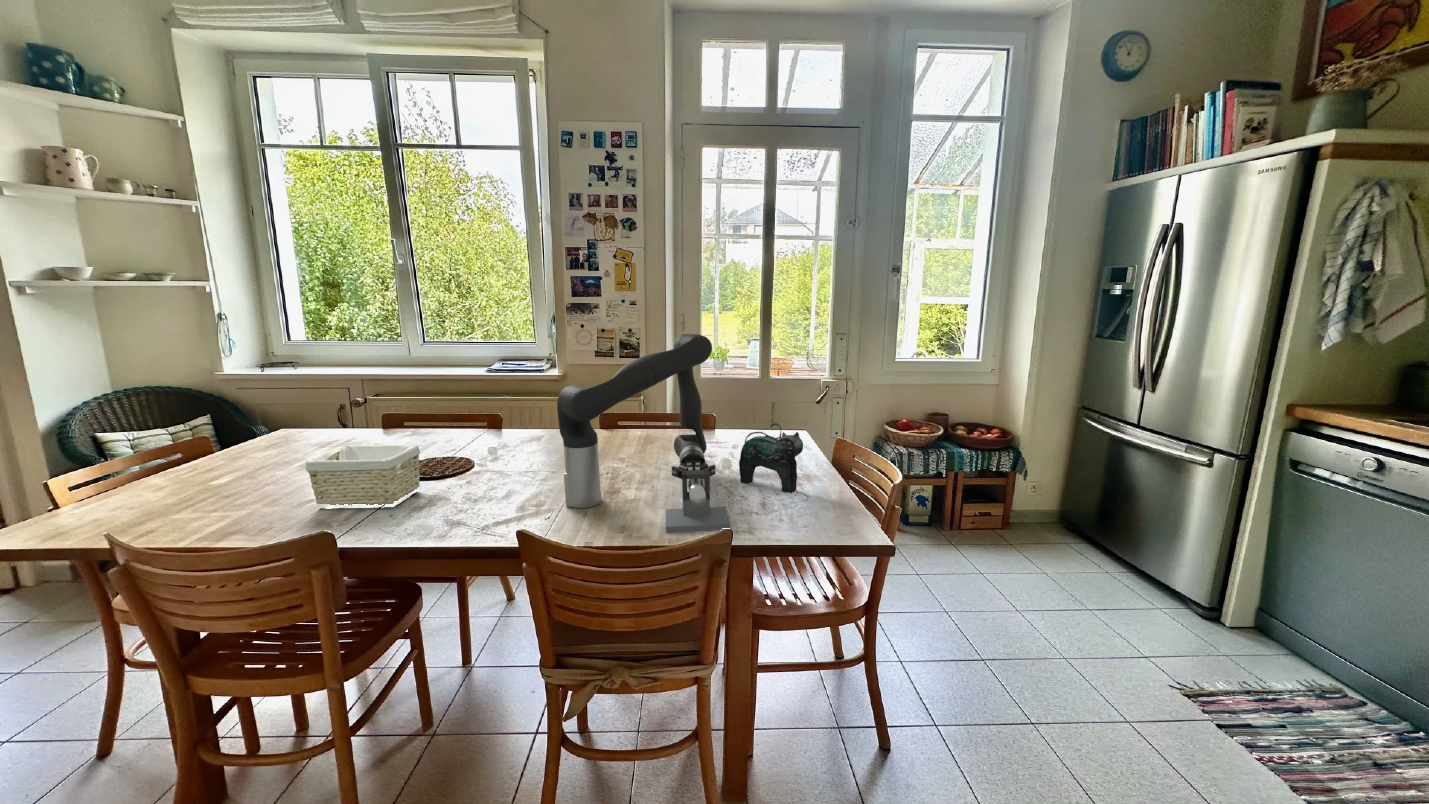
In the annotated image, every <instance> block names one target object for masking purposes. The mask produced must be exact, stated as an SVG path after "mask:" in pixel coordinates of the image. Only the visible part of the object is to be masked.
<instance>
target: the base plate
mask: <svg viewBox="0 0 1429 804" xmlns="http://www.w3.org/2000/svg"><path fill="white" fill-rule="evenodd" d="M728 514H729V513H728V510H727V507H726V506H724V505H723V506H711V499H710V500H706V502H705V504H704V505H703V506H700V507H695V506H693V505H692V504H691V502H690V500H687V501H683V500H682V508H681V507H680V508H666V509H665V533H679V532H680V533H681V532H682V533H683V532H686V533H687V532H701V531H702V532H703V531H721V530H720V529H722V528H730V529H731V521H730V518H729V515H728Z"/></svg>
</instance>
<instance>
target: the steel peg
mask: <svg viewBox="0 0 1429 804" xmlns="http://www.w3.org/2000/svg"><path fill="white" fill-rule="evenodd" d="M687 489H688V492H689V496H690V502H691V504H692V505H693V506H695V507H700V506H703V505H704V504H705V502H706V494H705V489H704V479H688V480H687Z"/></svg>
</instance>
